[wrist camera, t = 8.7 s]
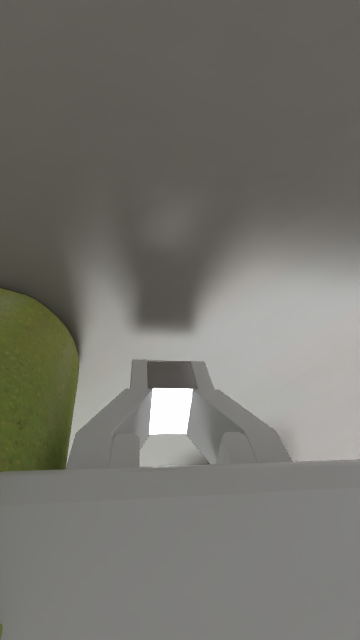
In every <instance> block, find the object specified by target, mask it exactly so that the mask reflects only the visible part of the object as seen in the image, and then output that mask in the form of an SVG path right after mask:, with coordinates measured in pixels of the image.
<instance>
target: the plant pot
mask: <svg viewBox="0 0 360 640" xmlns="http://www.w3.org/2000/svg"><path fill="white" fill-rule="evenodd" d="M78 374H79V358H78V351H77V348H76V345H75V343H74V340H73V338H72V336H71V334H70V333H69V331H68V330H67V328H66V327H65V325H64V324H63V323H62V322H61V320H60V319H59V318H58V317H57V316H56V315H55V314H54V313H52V312H51V311H50V310H49V309H48V308H47V307H45V306H44V305H42V304H41V303H40V302H38V301H37V300H35V299H33V298H31V297H29V296H27V295H24V294H20V293H17V292H13V291H9V290H6V289H2V288H0V472H3V471H31V470H61V469H66V463H67V455H68V447H69V440H70V432H71V425H72V418H73V410H74V404H75V397H76V390H77V383H78ZM2 628H3V626H2V625H1V624H0V640H1V636H2Z"/></svg>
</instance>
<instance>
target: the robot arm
mask: <svg viewBox="0 0 360 640" xmlns="http://www.w3.org/2000/svg"><path fill="white" fill-rule="evenodd" d="M165 433H177V434H186V435H187V436H188V438H189V439H190V440H191V441H192V442H193V444H194V445H195V446H196V447H197V449H198V450H199V451H200V452H201V454H202V455H203V456H204V457H205V458H206V460H207V461H208V462H209V463H210V464H207V465H178V466H149V467H139V450H140V449H141V447H142V446H143V444H144V443H145V441H146V440H147V438H148V437H149V434H165ZM0 624H1V625H2V626H3V628H2V636H1V640H360V459H358V460H332V461H300V462H292V460H291V458H290V457H289V455H288V453H287V451H286V449H285V447H284V446H283V444H282V442H281V440H280V438H279V436H278V435H277V433H276V431H275V430H274V429H272V428H271V427H270V426H268V425H267V424H265V423H264V422H263V421H261V420H260V419H259V418H257V417H256V416H254V415H253V414H252V413H250V412H249V411H247V410H246V409H245V408H243V407H242V406H241V405H239V404H238V403H236V402H235V401H234V400H232V399H231V398H230V397H228V396H227V395H225V394H224V393H223V392H221V391H220V390H215V389H214V387H213V384H212V381H211V378H210V376H209V373H208V370H207V367H206V364H205V362H204V361H163V360H139V359H133V360H132V368H131V382H130V389H125V390H124V391H123V392H121V393H120V394H119V395H118V396H117V397H116V398H115V399H114V400H112V401H111V402H110V403H109V404H108V405H107V406H106V407H105V408H104V409H102V410H101V411H100V412H99V413H98V414H97V415H96V416H95V417H93V418H92V419H91V420H90V421H89V422H88V423H87V424H86V425H84V426H83V427H82V428H81V429H80V430H79V431H78V432H77V433H76V435H75V438H74V442H73V445H72V449H71V452H70V456H69V459H68V463H67V466H66V469H61V470H31V471H3V472H0Z"/></svg>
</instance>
